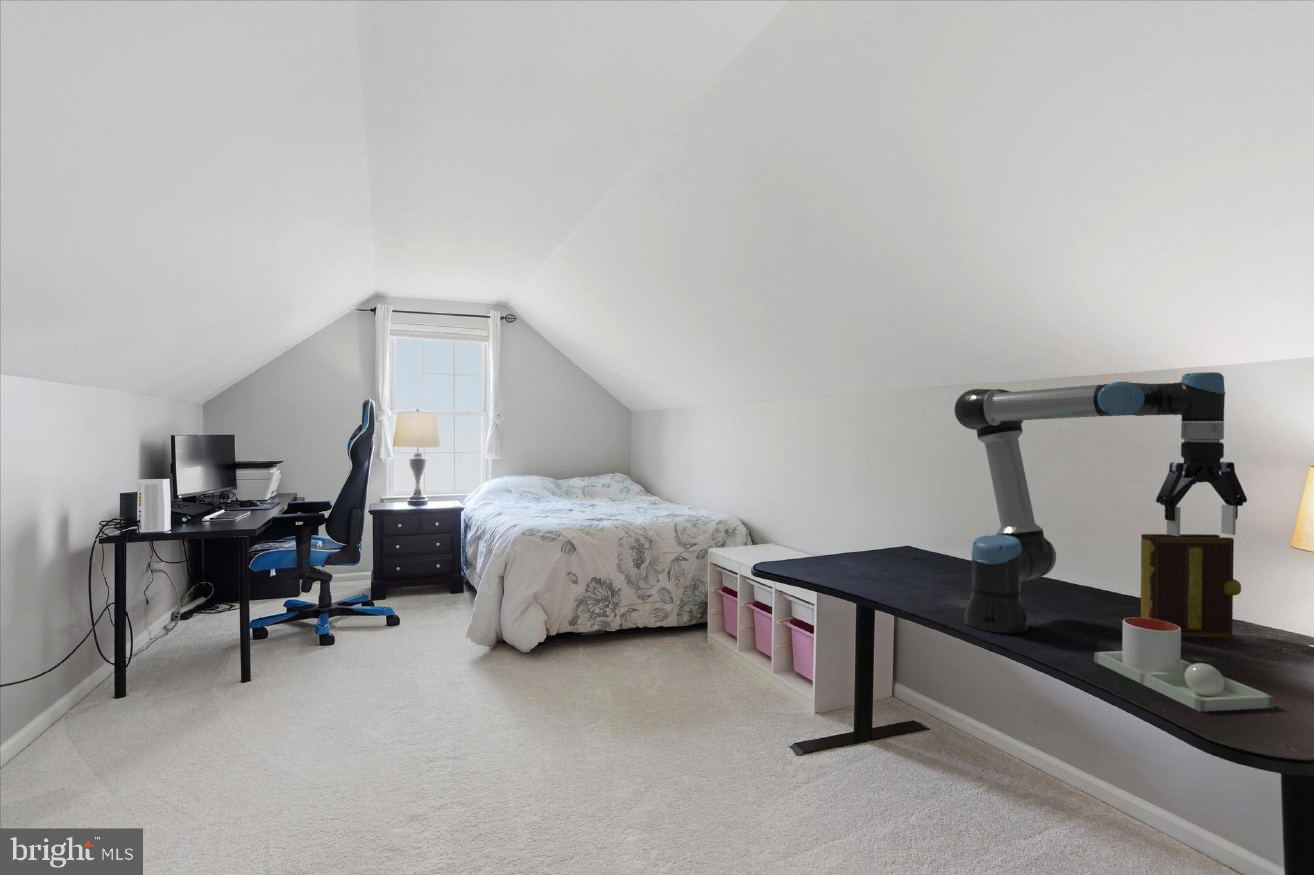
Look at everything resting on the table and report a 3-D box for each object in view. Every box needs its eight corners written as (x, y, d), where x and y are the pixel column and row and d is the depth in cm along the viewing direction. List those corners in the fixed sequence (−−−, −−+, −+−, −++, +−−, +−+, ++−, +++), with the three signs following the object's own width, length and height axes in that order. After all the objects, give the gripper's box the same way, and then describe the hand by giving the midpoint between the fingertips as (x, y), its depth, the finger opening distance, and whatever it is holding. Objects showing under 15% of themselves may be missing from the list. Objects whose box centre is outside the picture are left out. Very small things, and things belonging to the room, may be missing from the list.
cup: (1156, 661, 148) (1156, 617, 148) (1192, 679, 138) (1193, 631, 138) (1111, 662, 148) (1111, 617, 148) (1144, 679, 138) (1145, 631, 138)
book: (1156, 637, 168) (1157, 538, 167) (1134, 627, 177) (1135, 533, 176) (1248, 639, 167) (1249, 539, 166) (1221, 628, 175) (1222, 533, 175)
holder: (1094, 666, 149) (1094, 652, 149) (1156, 663, 150) (1156, 649, 150) (1199, 717, 123) (1199, 700, 123) (1273, 713, 124) (1273, 696, 124)
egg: (1176, 689, 133) (1176, 659, 133) (1203, 687, 134) (1204, 657, 133) (1203, 701, 127) (1204, 670, 127) (1232, 700, 128) (1232, 669, 127)
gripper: (1165, 441, 146) (1164, 538, 147) (1268, 441, 149) (1267, 536, 149) (1137, 441, 154) (1136, 532, 154) (1236, 440, 156) (1235, 530, 157)
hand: (1200, 534), depth 152 cm, fingers open, 13 cm apart
